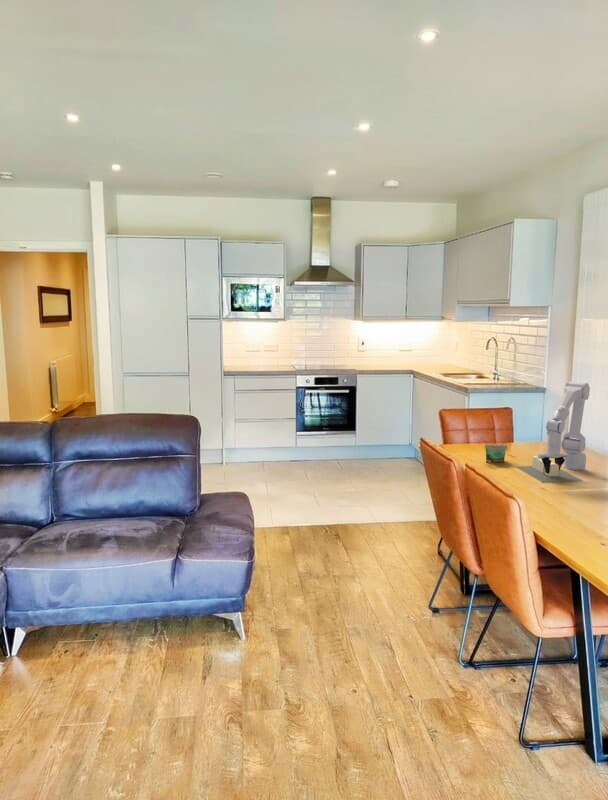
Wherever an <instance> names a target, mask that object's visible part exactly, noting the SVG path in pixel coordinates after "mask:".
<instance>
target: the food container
mask: <svg viewBox="0 0 608 800" xmlns="http://www.w3.org/2000/svg"><path fill="white" fill-rule="evenodd" d="M484 449H485V462H486V463H487V464H490V465H491V463H492V464H494V463H495V464H502V463H505V457H506V451H507V449H508V445H507V443H506V442H504V443H503V444H487V443H486V444H485V445H484Z"/></svg>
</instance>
